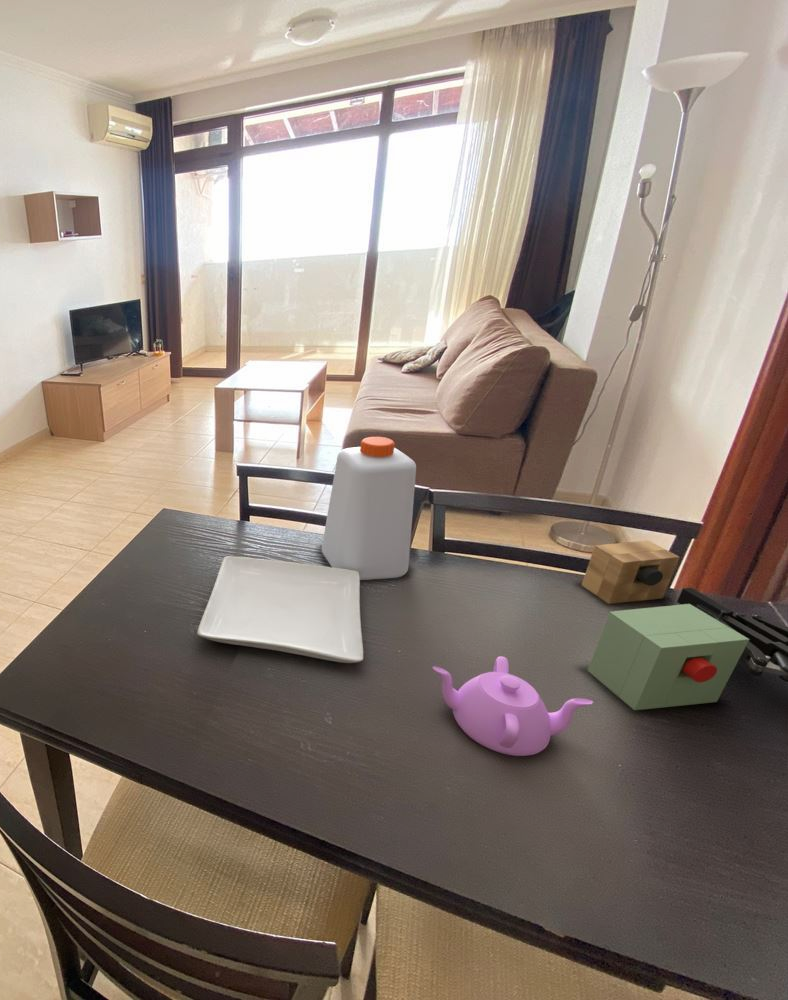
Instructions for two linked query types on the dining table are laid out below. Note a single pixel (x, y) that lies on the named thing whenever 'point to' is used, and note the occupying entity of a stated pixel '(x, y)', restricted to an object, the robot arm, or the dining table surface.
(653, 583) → the black button
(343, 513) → the plastic bottle
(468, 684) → the teapot
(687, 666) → the red button
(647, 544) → the wooden button box
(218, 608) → the square plate
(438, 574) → the dining table surface
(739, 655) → the green box
